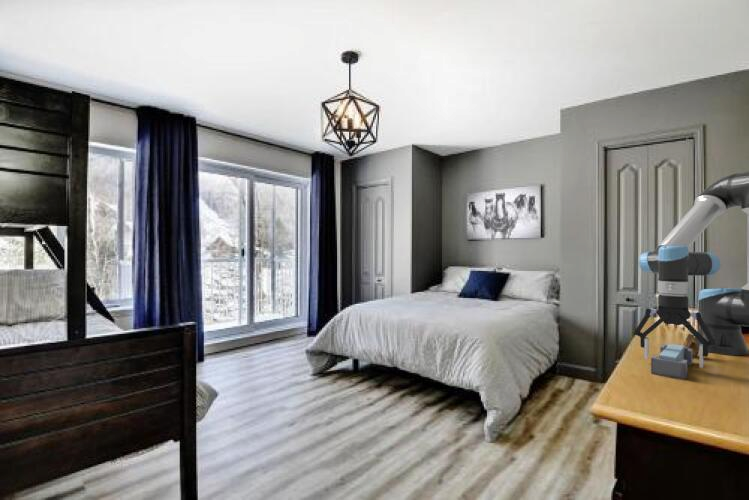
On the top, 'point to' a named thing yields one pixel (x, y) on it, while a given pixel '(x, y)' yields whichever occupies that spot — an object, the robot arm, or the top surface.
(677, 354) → the slat
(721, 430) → the top surface
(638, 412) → the top surface
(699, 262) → the robot arm
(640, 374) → the top surface
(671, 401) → the top surface
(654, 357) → the end caps
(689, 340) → the rock
